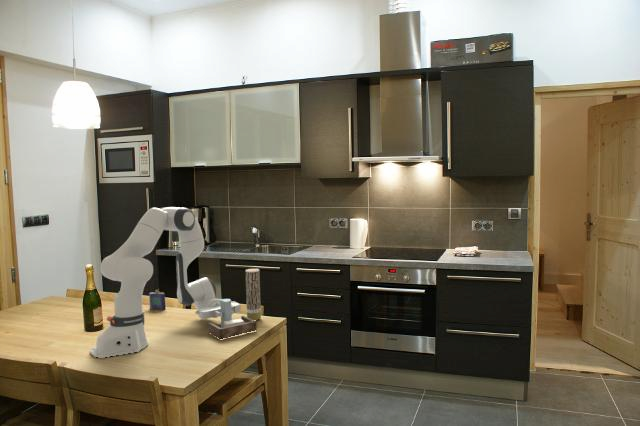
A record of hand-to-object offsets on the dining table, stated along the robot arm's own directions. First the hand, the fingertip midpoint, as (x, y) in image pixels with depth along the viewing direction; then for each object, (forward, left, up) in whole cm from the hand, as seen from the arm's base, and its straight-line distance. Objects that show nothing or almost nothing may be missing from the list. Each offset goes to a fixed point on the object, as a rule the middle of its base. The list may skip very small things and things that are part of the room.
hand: (226, 314), depth 231 cm
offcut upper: (0, -6, -5) cm, 8 cm away
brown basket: (0, -5, -8) cm, 9 cm away
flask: (-12, +59, -8) cm, 61 cm away
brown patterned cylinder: (+18, +7, -8) cm, 21 cm away
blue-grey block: (0, +1, -8) cm, 8 cm away
